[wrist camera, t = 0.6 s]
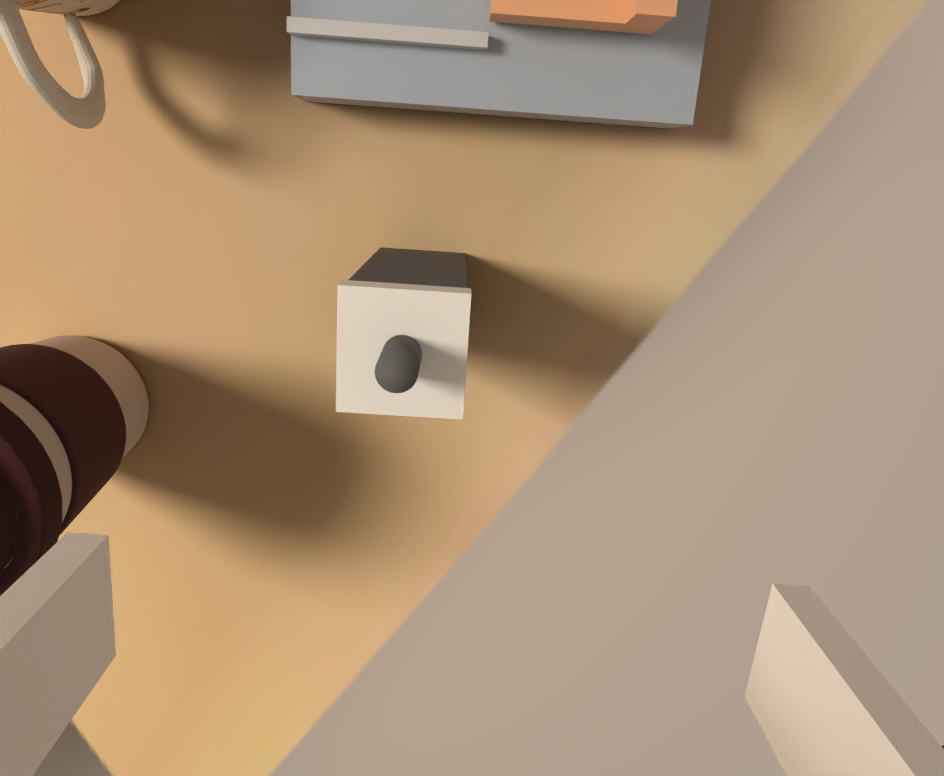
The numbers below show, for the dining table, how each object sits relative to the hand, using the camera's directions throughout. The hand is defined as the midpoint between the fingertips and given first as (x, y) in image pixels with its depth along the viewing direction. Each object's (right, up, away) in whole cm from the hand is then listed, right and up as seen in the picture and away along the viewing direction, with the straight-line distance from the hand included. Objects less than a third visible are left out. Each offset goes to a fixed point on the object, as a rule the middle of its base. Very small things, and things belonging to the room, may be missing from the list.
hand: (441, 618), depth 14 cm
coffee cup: (-21, +4, +25) cm, 33 cm away
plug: (-2, +10, +24) cm, 26 cm away
